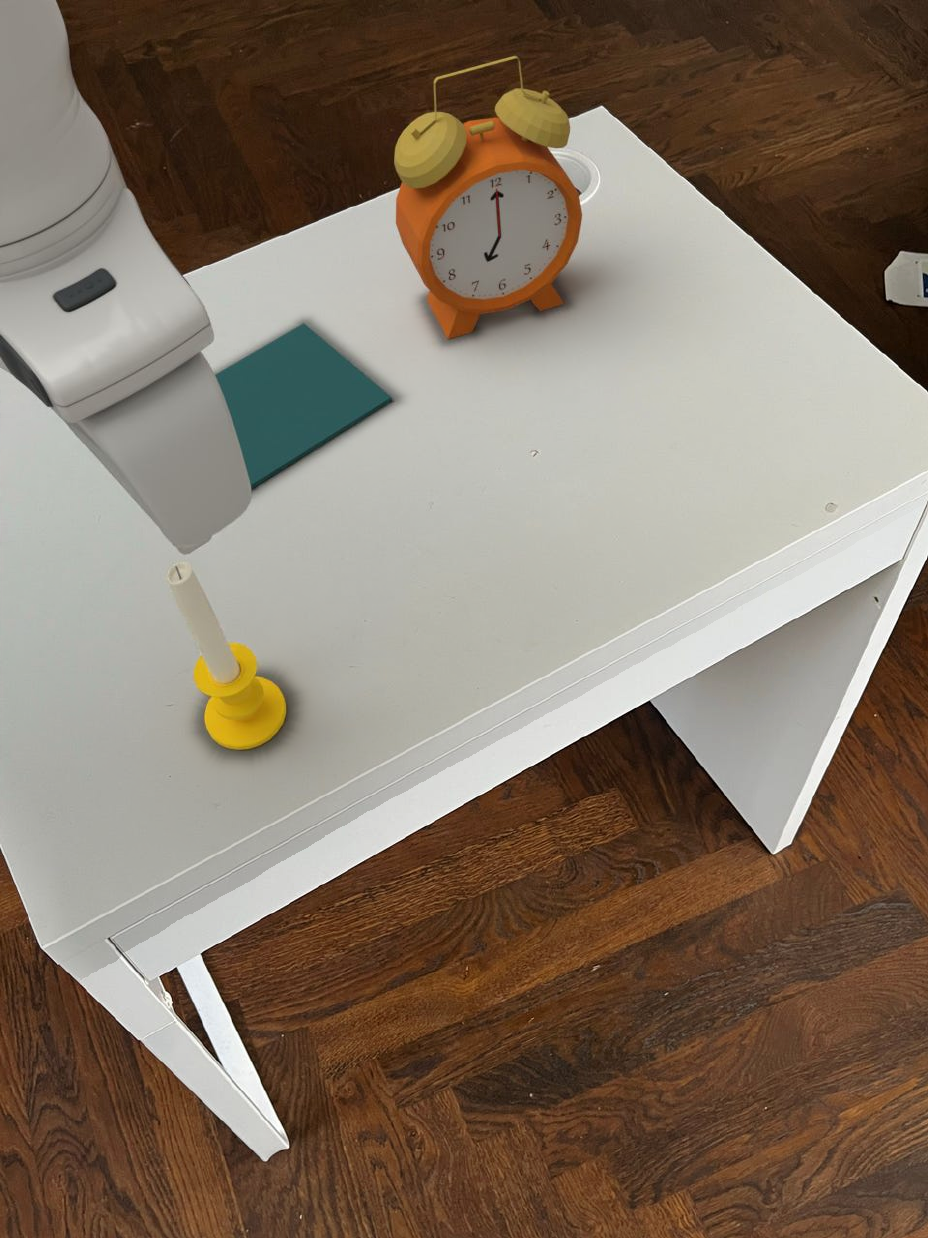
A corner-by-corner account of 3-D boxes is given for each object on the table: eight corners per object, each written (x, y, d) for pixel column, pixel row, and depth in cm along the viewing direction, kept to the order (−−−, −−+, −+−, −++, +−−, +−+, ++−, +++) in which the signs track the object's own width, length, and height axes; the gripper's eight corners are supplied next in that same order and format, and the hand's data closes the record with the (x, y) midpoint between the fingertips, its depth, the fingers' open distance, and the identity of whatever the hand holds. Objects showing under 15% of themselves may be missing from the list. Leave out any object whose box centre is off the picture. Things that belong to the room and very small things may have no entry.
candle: (221, 763, 71) (143, 620, 59) (195, 700, 74) (115, 551, 62) (298, 728, 72) (238, 580, 60) (270, 667, 75) (207, 513, 63)
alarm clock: (431, 349, 92) (398, 117, 75) (407, 303, 95) (371, 71, 79) (585, 302, 93) (585, 65, 77) (556, 258, 97) (551, 22, 80)
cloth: (195, 524, 83) (194, 520, 83) (115, 437, 89) (113, 433, 89) (392, 400, 89) (391, 396, 88) (304, 326, 95) (303, 322, 94)
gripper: (-151, 170, 48) (-10, 406, 60) (74, 420, 38) (193, 648, 50) (-17, 106, 50) (95, 347, 62) (232, 329, 40) (311, 568, 52)
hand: (141, 483), depth 56 cm, fingers open, 8 cm apart
